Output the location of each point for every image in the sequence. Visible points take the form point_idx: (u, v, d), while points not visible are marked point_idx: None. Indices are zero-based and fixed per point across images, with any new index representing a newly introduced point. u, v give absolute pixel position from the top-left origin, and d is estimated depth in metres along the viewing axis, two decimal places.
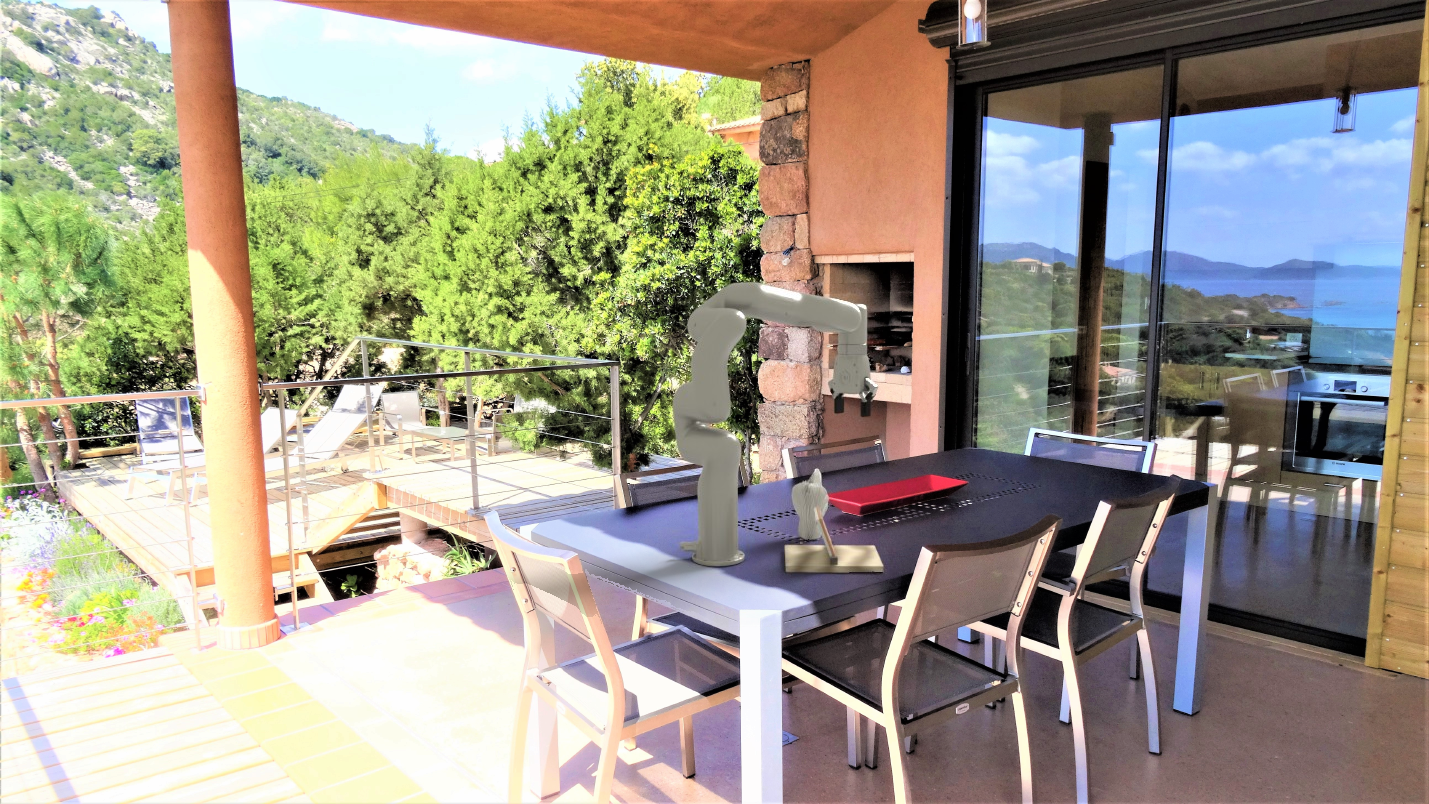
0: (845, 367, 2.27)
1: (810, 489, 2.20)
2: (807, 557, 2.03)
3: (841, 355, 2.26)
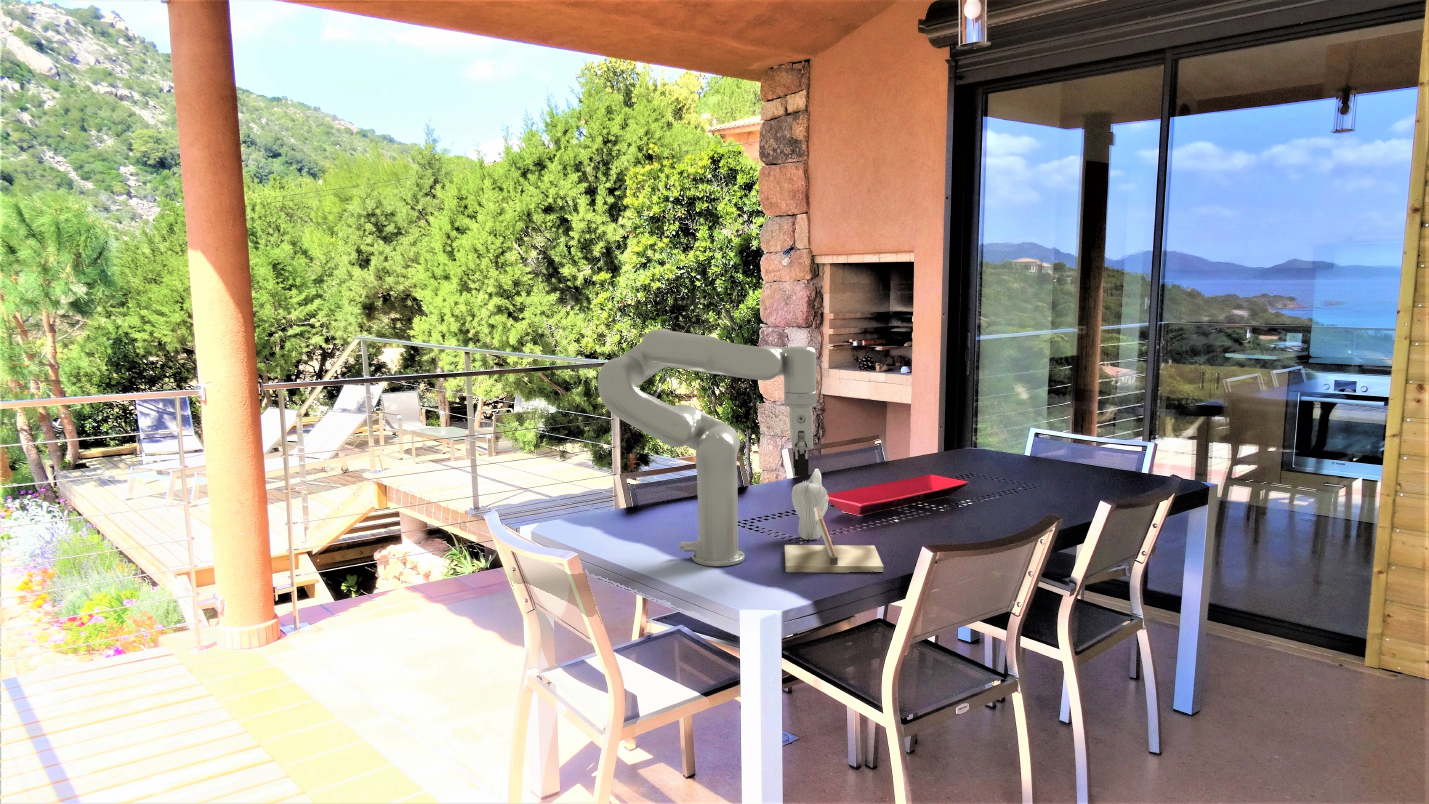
0: None
1: (810, 489, 2.20)
2: (807, 557, 2.03)
3: None
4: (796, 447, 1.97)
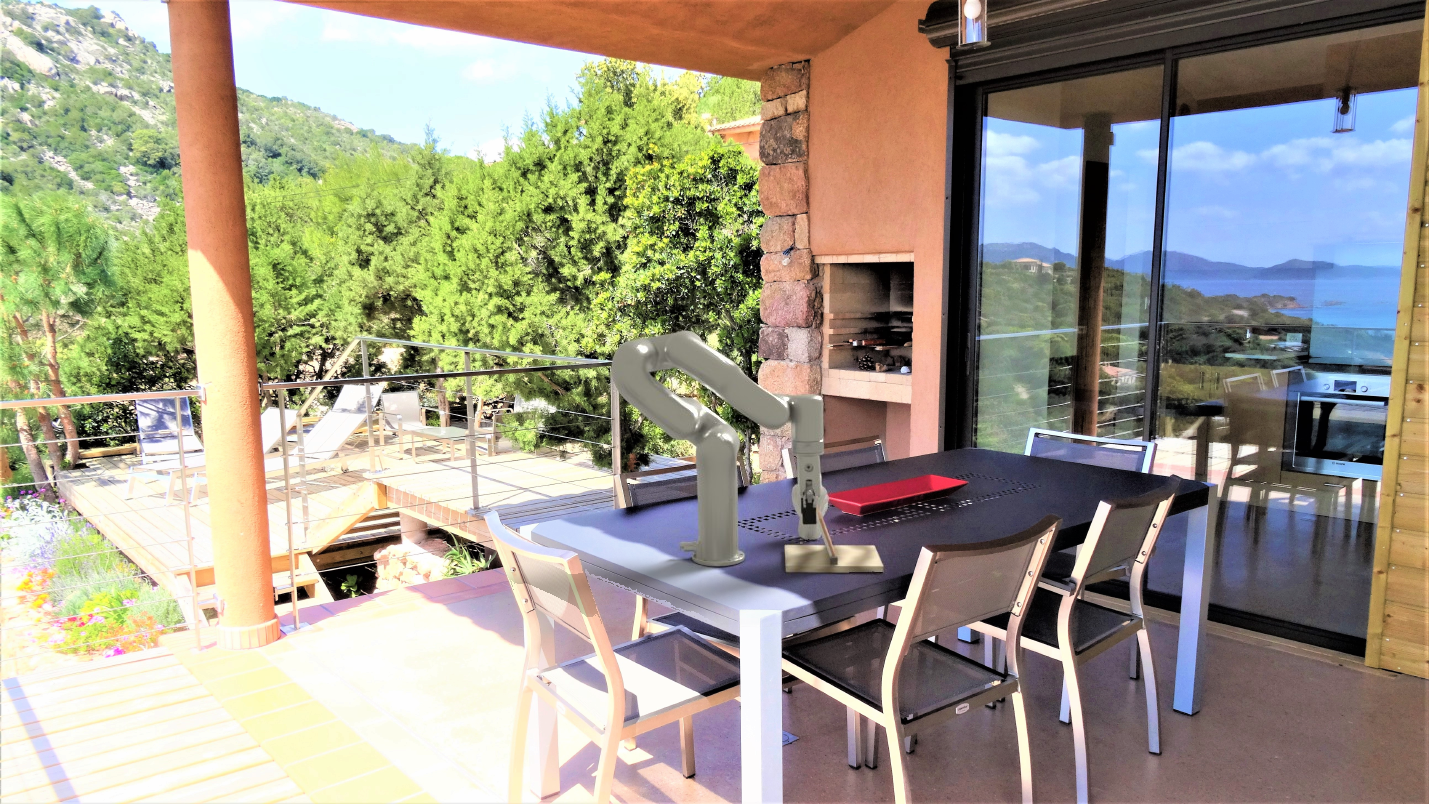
0: None
1: None
2: (807, 557, 2.03)
3: (823, 451, 2.01)
4: (804, 495, 1.98)
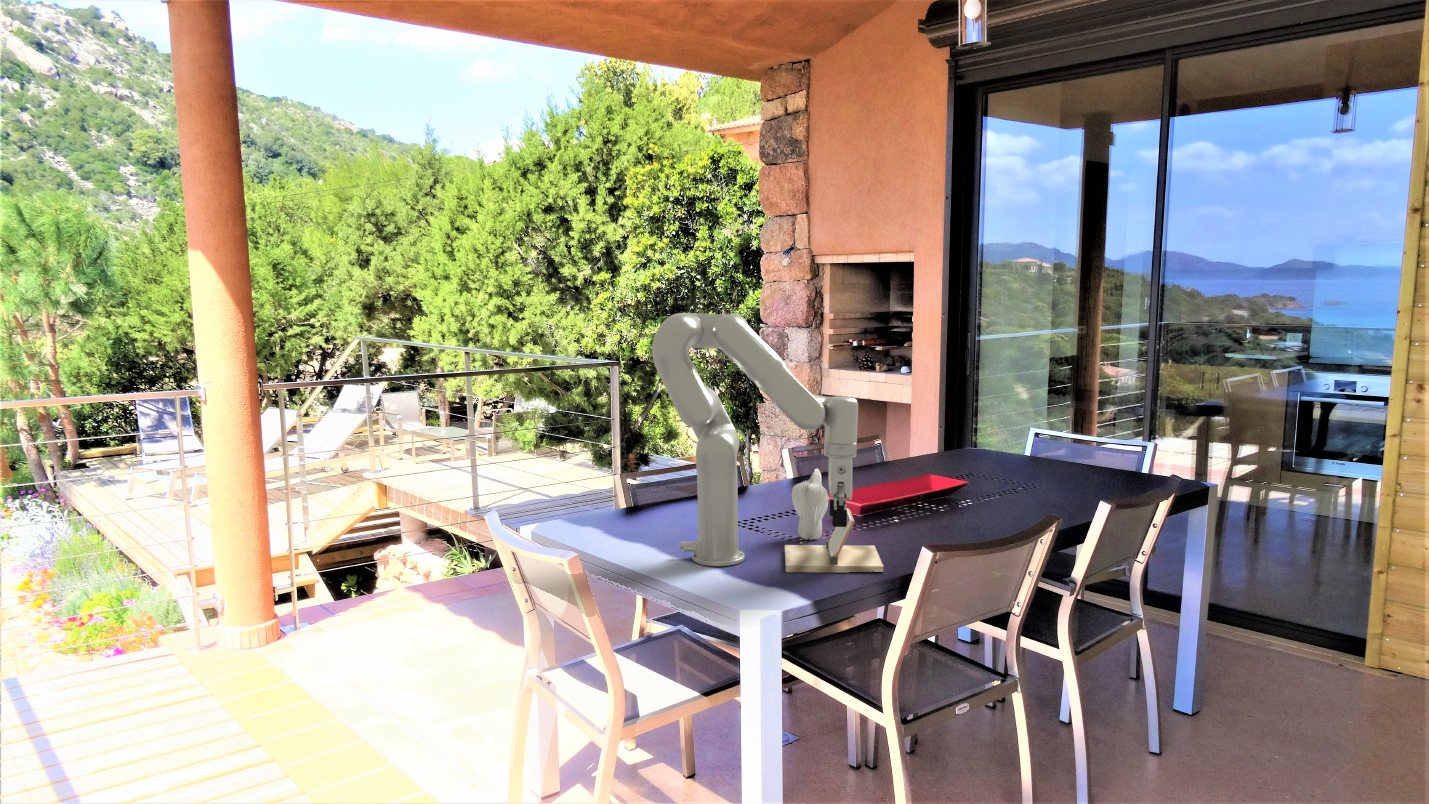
0: None
1: (810, 489, 2.20)
2: (807, 557, 2.03)
3: None
4: (835, 497, 1.98)
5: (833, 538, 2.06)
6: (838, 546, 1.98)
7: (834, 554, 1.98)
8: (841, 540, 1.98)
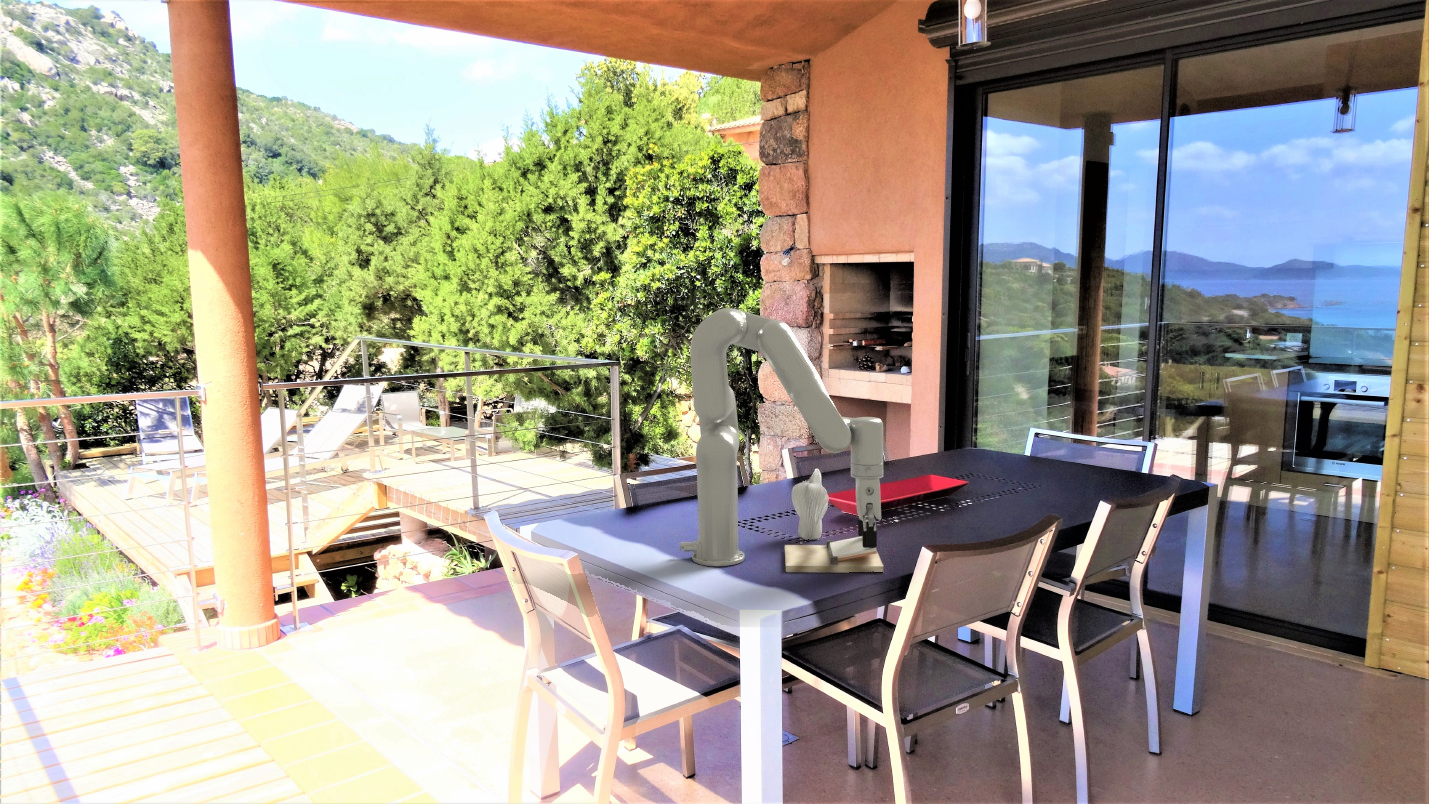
0: None
1: (810, 489, 2.20)
2: (807, 557, 2.03)
3: None
4: (864, 519, 1.98)
5: (841, 544, 2.06)
6: (847, 555, 1.98)
7: (838, 557, 1.98)
8: (853, 554, 1.98)
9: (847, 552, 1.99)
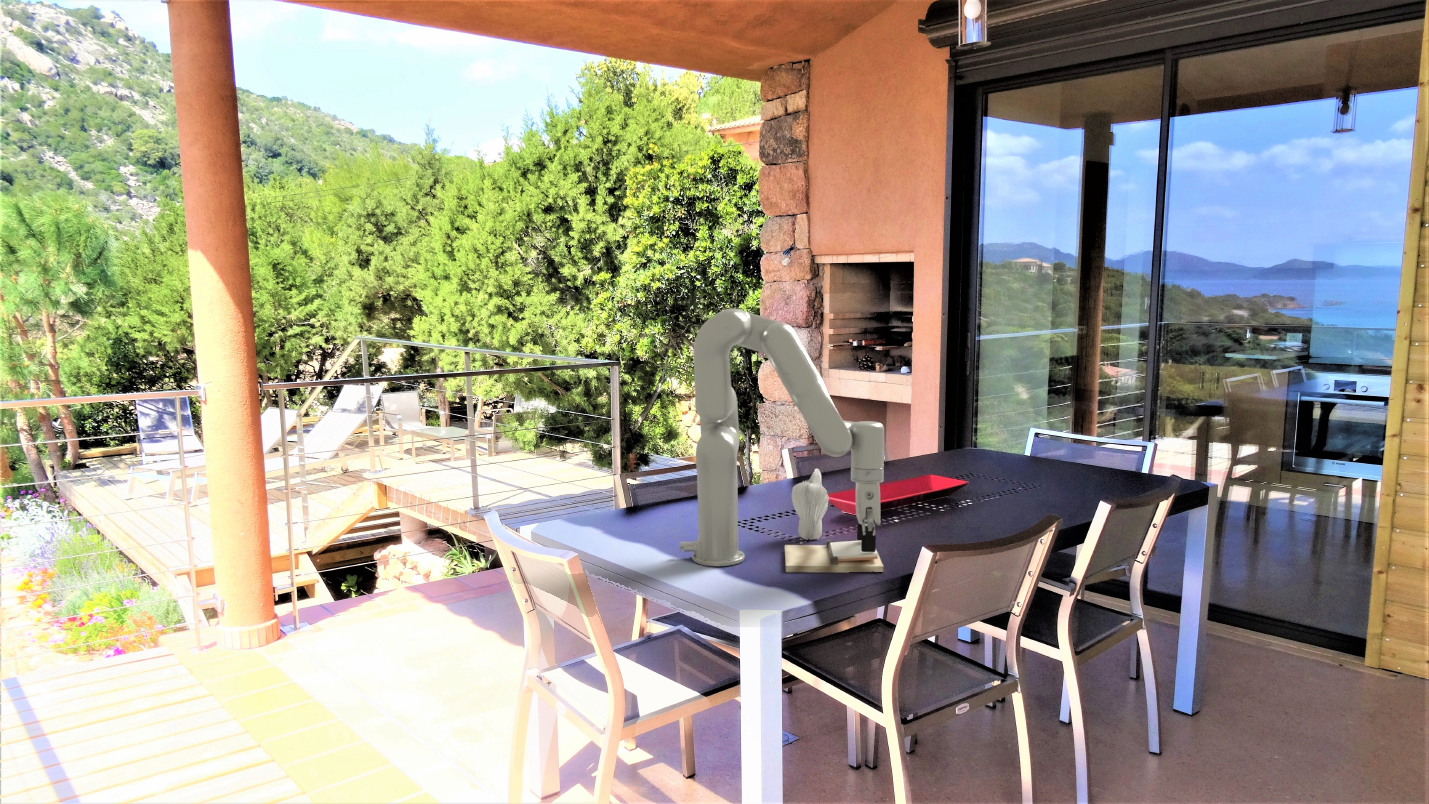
0: None
1: (810, 489, 2.20)
2: (807, 557, 2.03)
3: None
4: (863, 523, 1.98)
5: (841, 545, 2.06)
6: (847, 557, 1.98)
7: (838, 557, 1.98)
8: (854, 556, 1.98)
9: (848, 554, 1.99)
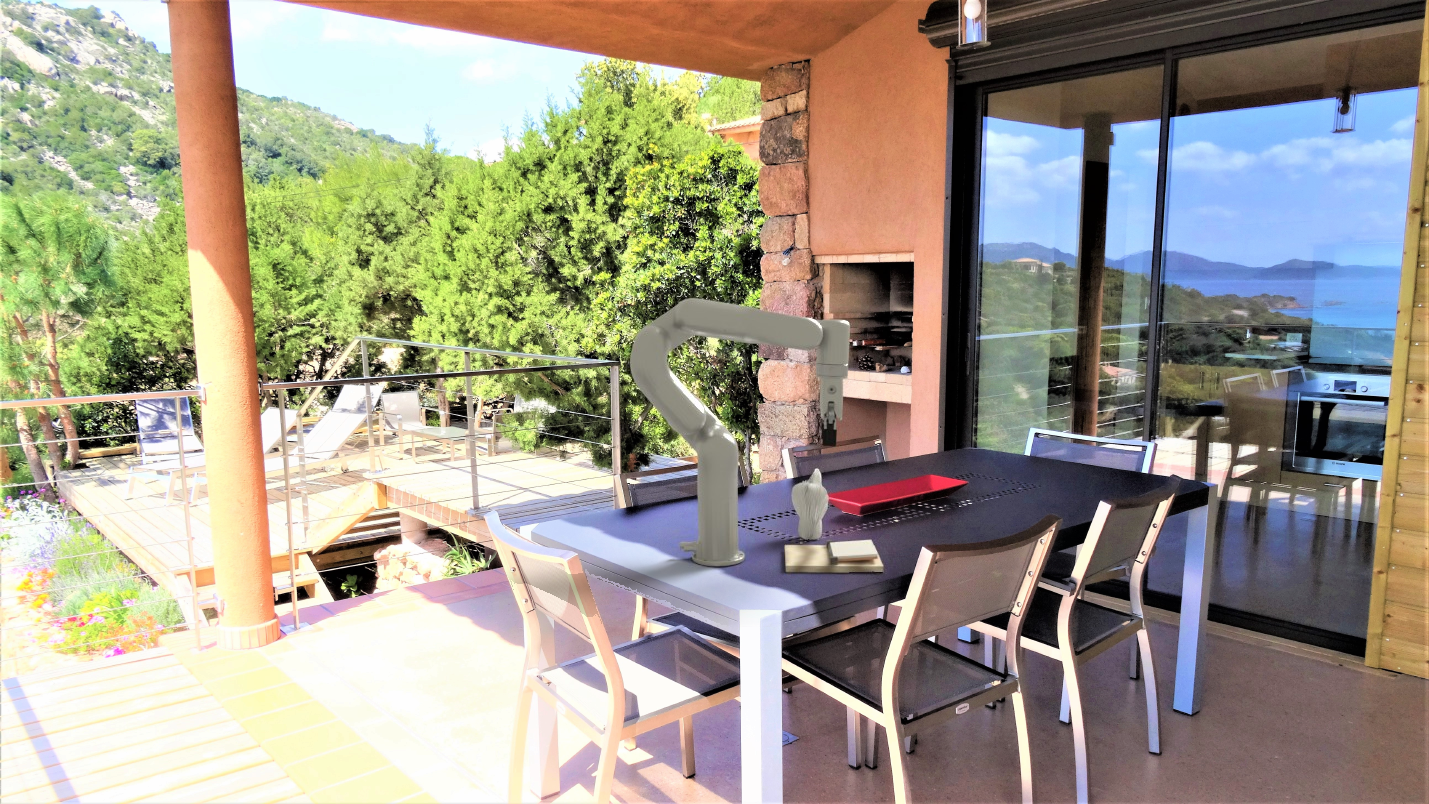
0: None
1: (810, 489, 2.20)
2: (807, 557, 2.03)
3: (847, 376, 2.04)
4: (825, 417, 2.01)
5: (841, 545, 2.06)
6: (847, 557, 1.98)
7: (838, 557, 1.98)
8: (854, 556, 1.98)
9: (848, 554, 1.99)
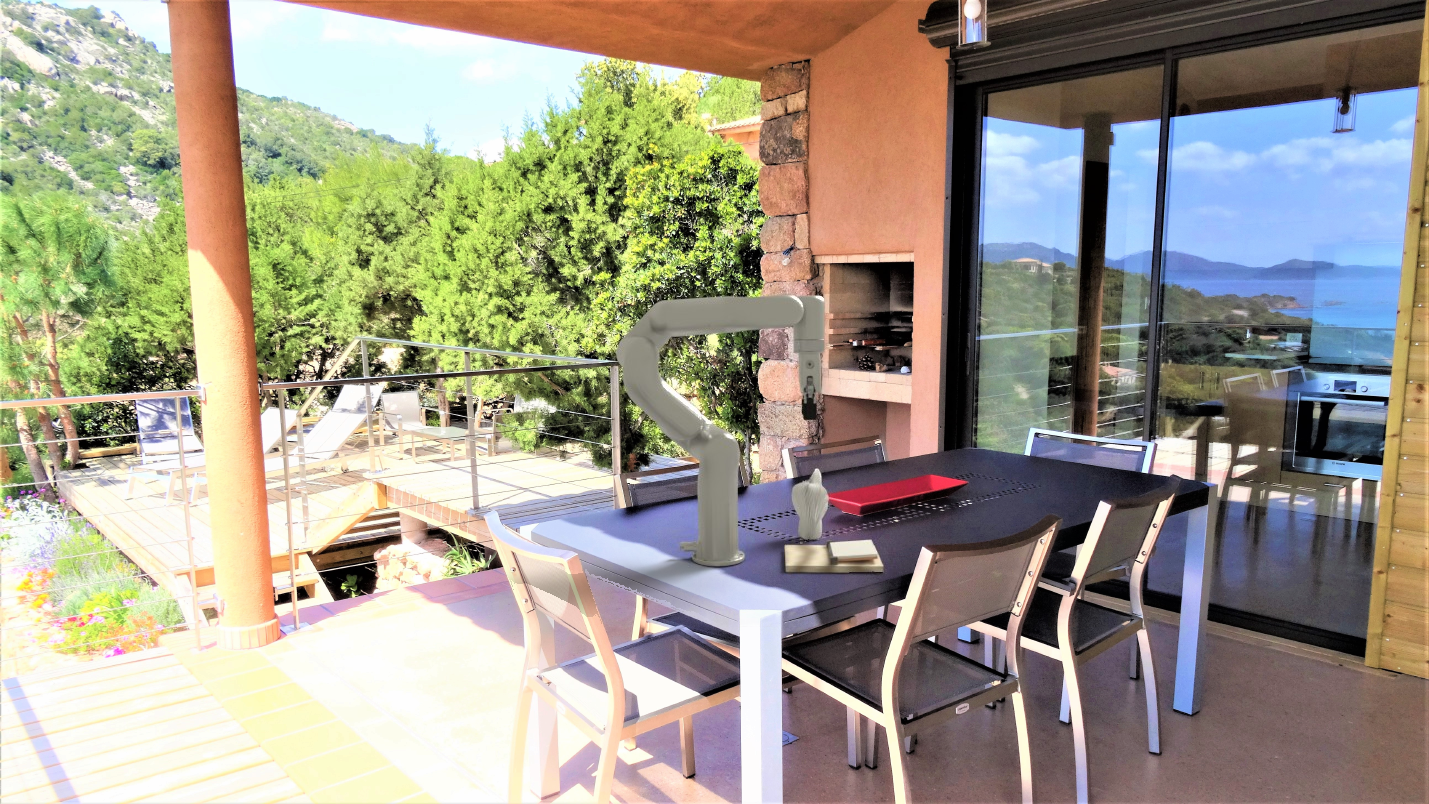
0: None
1: (810, 489, 2.20)
2: (807, 557, 2.03)
3: (824, 351, 2.08)
4: (805, 392, 2.05)
5: (841, 545, 2.06)
6: (847, 557, 1.98)
7: (838, 557, 1.98)
8: (854, 556, 1.98)
9: (848, 554, 1.99)
